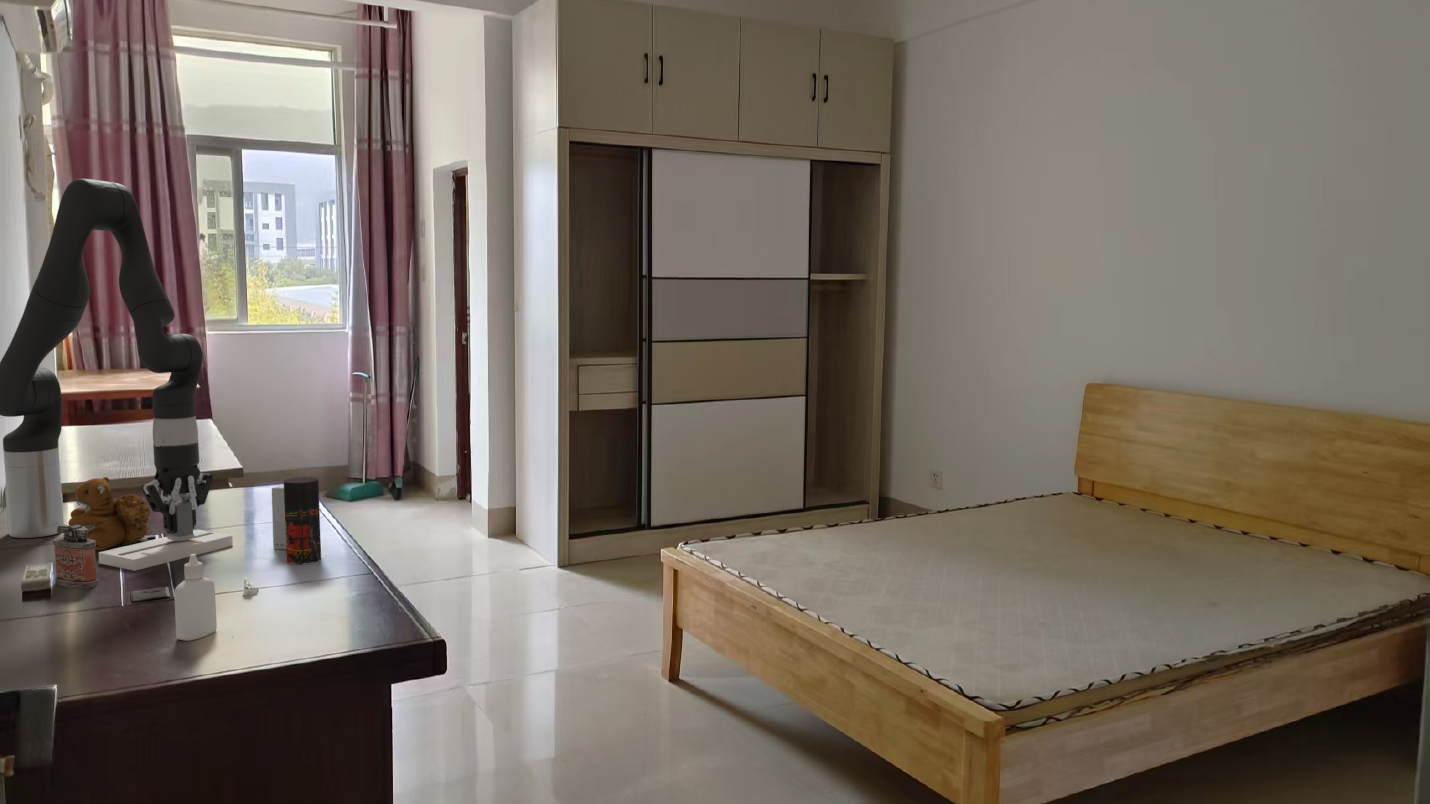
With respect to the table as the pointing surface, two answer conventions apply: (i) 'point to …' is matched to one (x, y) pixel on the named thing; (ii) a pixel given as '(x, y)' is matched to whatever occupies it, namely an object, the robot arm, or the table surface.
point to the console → (163, 550)
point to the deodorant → (302, 520)
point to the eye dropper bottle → (195, 603)
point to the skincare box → (278, 517)
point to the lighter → (75, 557)
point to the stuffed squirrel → (109, 515)
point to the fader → (183, 522)
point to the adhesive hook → (249, 588)
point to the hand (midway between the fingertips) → (180, 530)
